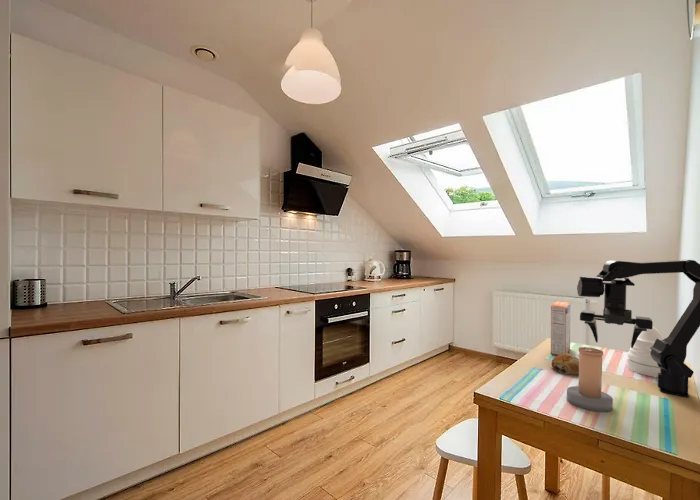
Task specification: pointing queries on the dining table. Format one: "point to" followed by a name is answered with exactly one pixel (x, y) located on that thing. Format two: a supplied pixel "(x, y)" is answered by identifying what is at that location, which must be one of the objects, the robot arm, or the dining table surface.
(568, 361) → the bread roll
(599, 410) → the round gray base plate
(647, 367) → the honey pot
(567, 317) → the cracker box
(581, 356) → the tan cylindrical canister
